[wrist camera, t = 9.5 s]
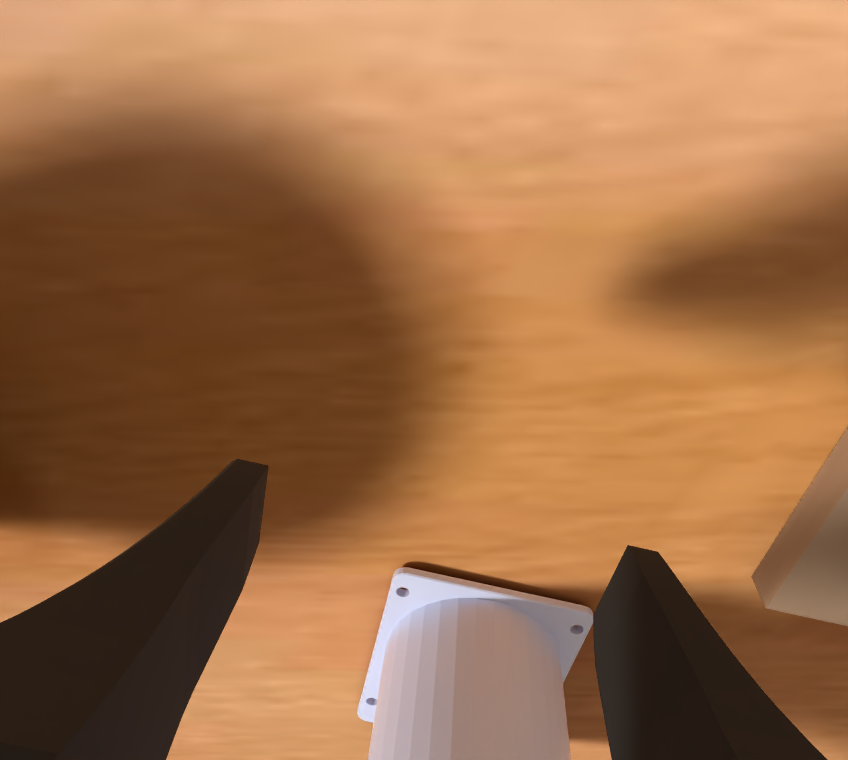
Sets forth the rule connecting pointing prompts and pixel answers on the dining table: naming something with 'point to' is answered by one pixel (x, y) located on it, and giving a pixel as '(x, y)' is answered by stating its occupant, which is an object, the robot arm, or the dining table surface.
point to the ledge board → (812, 549)
